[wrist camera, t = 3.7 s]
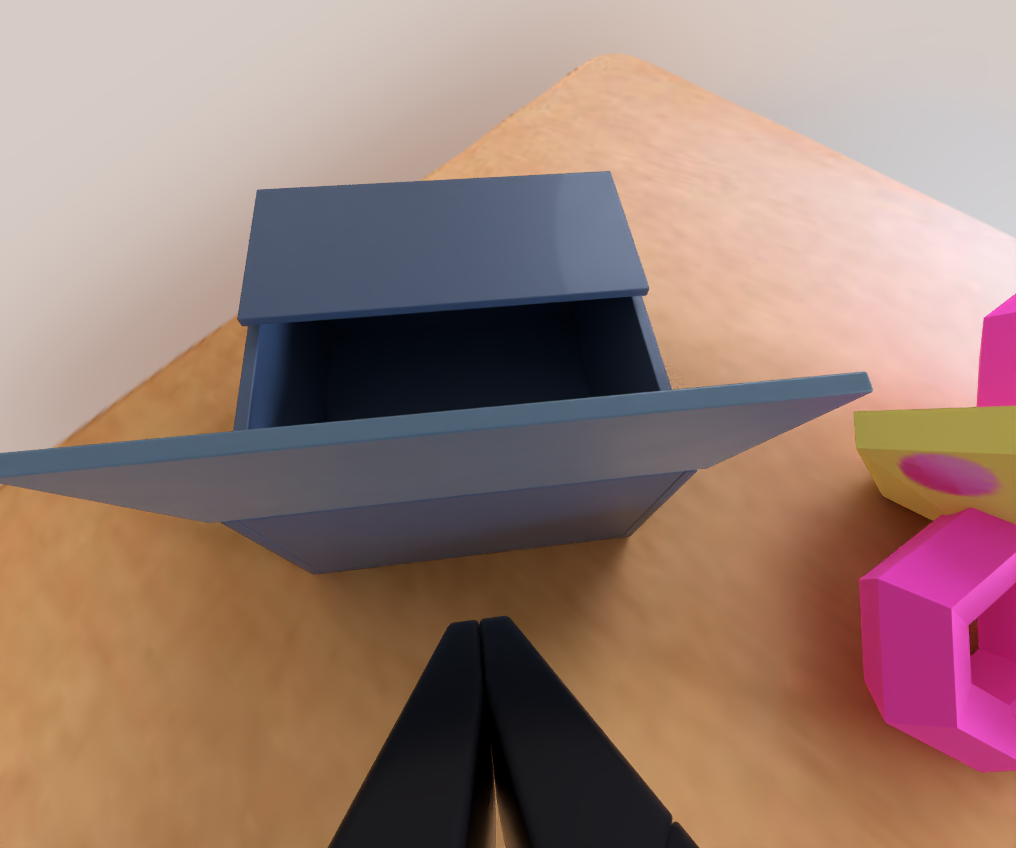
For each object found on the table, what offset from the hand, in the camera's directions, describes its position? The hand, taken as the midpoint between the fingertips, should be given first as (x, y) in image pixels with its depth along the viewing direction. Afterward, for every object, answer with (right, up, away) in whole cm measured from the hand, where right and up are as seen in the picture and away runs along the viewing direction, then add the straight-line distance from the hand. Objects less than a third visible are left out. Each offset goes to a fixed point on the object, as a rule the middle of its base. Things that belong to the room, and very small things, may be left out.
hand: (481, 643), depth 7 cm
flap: (-1, +3, +3) cm, 4 cm away
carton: (-2, +3, +15) cm, 16 cm away
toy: (+18, -2, +14) cm, 23 cm away
